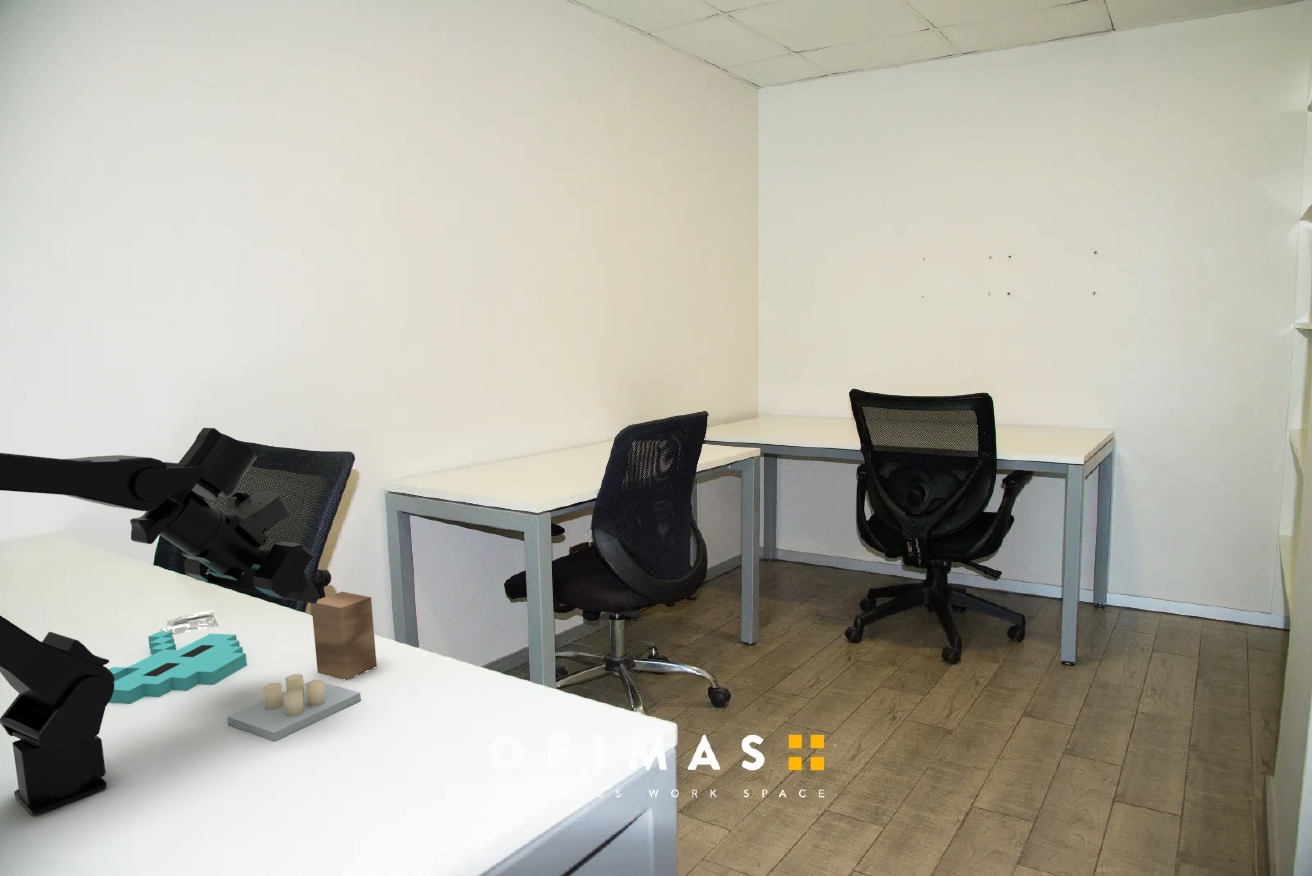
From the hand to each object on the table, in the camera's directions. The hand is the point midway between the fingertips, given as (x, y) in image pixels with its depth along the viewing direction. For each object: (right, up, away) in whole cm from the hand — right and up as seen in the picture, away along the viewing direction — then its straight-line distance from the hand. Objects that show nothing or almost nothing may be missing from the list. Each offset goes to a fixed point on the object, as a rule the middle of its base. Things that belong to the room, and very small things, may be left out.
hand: (294, 595), depth 110 cm
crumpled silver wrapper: (-29, -11, +29) cm, 42 cm away
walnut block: (+4, -12, +8) cm, 14 cm away
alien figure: (-22, -13, +10) cm, 27 cm away
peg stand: (+3, -13, -5) cm, 15 cm away
